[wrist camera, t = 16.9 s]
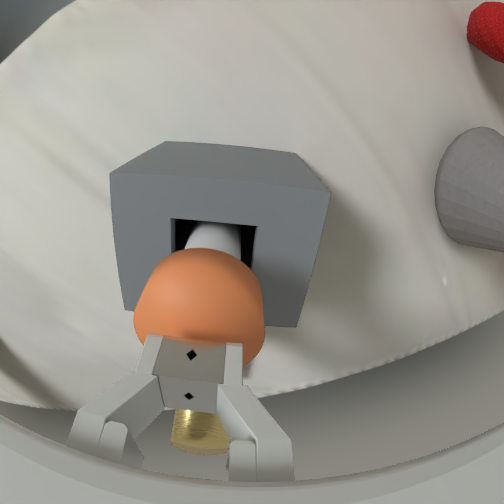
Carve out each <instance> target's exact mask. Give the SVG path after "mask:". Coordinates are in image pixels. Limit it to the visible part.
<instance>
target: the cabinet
mask: <svg viewBox="0 0 504 504" xmlns="http://www.w3.org/2000/svg"><path fill="white" fill-rule="evenodd" d="M110 195H111V210H112V222H113V233H114V242H115V251H116V258H117V266H118V273H119V279H120V286H121V292H122V297H123V303H124V308H125V310H128V311H135V308H136V306H137V303H138V301H139V299H140V297H141V295H142V292H143V290H144V288H145V286H146V284H147V282H148V279H149V277H150V275H151V273H152V271H153V269H154V268H155V267H156V265H157V264H158V263H159V262H160V261H161V260H162V259H164V258H165V257H167V256H168V255H170V254H172V253H174V252H177V251H180V250H183V249H185V246H186V244H187V241H188V239H189V236H190V233H191V231H192V228H193V226H184V225H175V218H176V219H188V220H199V221H210V222H221V223H231V224H242V225H251V226H256V231H255V232H248V231H242V232H241V260H240V261H242V262H243V263H244V264H245V265H246V266H247V267H249V268H250V270H251V271H252V272H253V273H254V275H255V276H256V278H257V279H258V282H259V284H260V287H261V291H262V302H263V316H264V326H279V327H297V323H298V320H299V317H300V313H301V310H302V306H303V303H304V299H305V296H306V292H307V289H308V285H309V281H310V277H311V274H312V270H313V266H314V262H315V259H316V255H317V251H318V247H319V243H320V239H321V235H322V230H323V226H324V222H325V218H326V213H327V209H328V205H329V200H330V196H331V192H330V191H329V190H328V189H327V188H326V186H325V185H324V184H323V183H322V182H321V181H320V180H319V178H318V177H317V176H316V175H315V174H314V173H313V172H312V171H311V169H310V168H309V167H308V166H307V165H306V164H305V163H304V162H303V161H302V160H301V158H300V157H299V156H298V155H297V154H296V153H290V152H283V151H276V150H268V149H260V148H251V147H242V146H232V145H220V144H207V143H192V142H171V141H165V142H163V143H161V144H160V145H158V146H156V147H154V148H152V149H150V150H148V151H147V152H145V153H143V154H141V155H139V156H138V157H136V158H134V159H132V160H131V161H129V162H127V163H126V164H124V165H122V166H120V167H119V168H117V169H115V170H114V171H112V172H111V173H110Z"/></svg>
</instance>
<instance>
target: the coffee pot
mask: <svg viewBox="0 0 504 504" xmlns="http://www.w3.org/2000/svg"><path fill="white" fill-rule="evenodd" d="M434 192H435V205H436V209H437V212H438V215H439V219H440V222H441V224H442V226H443V228H444V229H445V231H446V233H447V234H448V236H449V237H451V238H452V239H453V240H454V241H456V242H457V243H459V244H463V245H466V246H472V247H477V248H483V249H489V250H495V251H500V252H504V136H502V135H501V134H500V133H498V132H497V131H495V130H494V129H490V128H486V127H478V128H473V129H470V130H467V131H465V132H464V133H462V134H461V135H459V136H458V137H456V138H455V139H454V141H453V142H452V143H451V144H450V145H449V146H448V148H447V149H446V151H445V153H444V155H443V157H442V159H441V161H440V165H439V168H438V171H437V175H436V182H435V191H434Z"/></svg>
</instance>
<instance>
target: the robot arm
mask: <svg viewBox="0 0 504 504" xmlns="http://www.w3.org/2000/svg"><path fill="white" fill-rule="evenodd" d="M164 407H168V408H175V409H184V410H192V411H199V412H207V413H215V414H216V415H217V417H218V419H219V420H220V422H221V424H222V425H223V427H224V429H225V431H226V432H227V434H228V436H229V437H230V439H231V441H232V443H231V444H230V448H229V453H228V459H227V465H226V475H225V481H222V480H209V479H200V478H191V477H184V476H177V475H171V474H165V473H159V472H154V471H149V470H144V469H142V467H143V460H144V456H143V455H142V453H141V451H140V450H139V448H138V446H137V444H136V443H135V441H134V440H135V439H136V438H137V437H138V436H139V435H140V434H141V433H142V432H143V431H144V430H145V428H146V427H147V426H148V425H149V424H150V423H151V422H152V421H153V420H154V419H155V418H156V417H157V416H158V414H160V413H161V412H162V411H163V410H164ZM0 504H504V423H503V424H500V425H498V426H496V427H494V428H492V429H490V430H488V431H486V432H484V433H482V434H480V435H477V436H475V437H473V438H471V439H468V440H466V441H464V442H461V443H459V444H456V445H454V446H451V447H449V448H446V449H443V450H441V451H438V452H435V453H432V454H429V455H427V456H423V457H420V458H417V459H414V460H410V461H407V462H403V463H399V464H396V465H392V466H388V467H384V468H380V469H375V470H370V471H365V472H360V473H354V474H349V475H342V476H335V477H328V478H320V479H309V480H296V481H295V478H294V468H293V458H292V447H291V440H290V439H289V438H288V436H287V435H286V434H285V433H284V431H283V430H282V429H281V428H280V427H279V425H278V424H277V423H276V422H275V420H274V419H273V418H272V417H271V416H270V414H269V413H268V412H267V410H266V409H265V408H264V407H263V405H262V404H261V403H260V402H259V400H258V399H257V398H256V396H255V395H254V394H253V392H252V391H251V390H250V388H249V387H248V386H244V385H243V345H242V344H241V343H228V342H218V341H207V340H197V339H195V340H193V339H186V338H180V337H173V336H167V335H160V334H154V333H149V334H148V336H147V337H146V340H145V343H144V346H143V349H142V352H141V355H140V358H139V361H138V364H137V367H136V370H135V372H133V371H130V372H129V373H127V374H126V375H125V376H123V377H122V378H121V379H119V380H118V381H117V382H115V383H114V384H113V385H111V386H110V387H109V388H107V389H106V390H105V391H103V392H102V393H101V394H99V395H98V396H96V397H95V398H94V399H92V400H91V401H90V402H88V403H87V404H86V405H84V406H83V407H81V408H80V409H79V410H78V412H77V415H76V417H75V420H74V423H73V426H72V428H71V431H70V434H69V437H68V440H67V443H66V446H64V445H62V444H59V443H57V442H54V441H52V440H50V439H47V438H45V437H43V436H41V435H38V434H36V433H34V432H32V431H30V430H28V429H26V428H24V427H22V426H20V425H18V424H16V423H14V422H12V421H10V420H9V419H7V418H5V417H3V416H1V415H0Z"/></svg>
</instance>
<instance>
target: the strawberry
mask: <svg viewBox="0 0 504 504" xmlns="http://www.w3.org/2000/svg"><path fill="white" fill-rule="evenodd" d="M467 39H468V40H469V42H471V43H472V44H473V45H475V46H476V47H477V48H478V49H479V50H480V51H482V52H483V53H485V54H486V55H488V56H489V57H491V58H492V59H494V60H496V61H499V62H501V63H504V3H501V2H484V3H482V4H481V5H479V6H478V7H477V8H476V9H474V10H473V11H472V12H471V14H470V17H469V21H468V25H467Z"/></svg>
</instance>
